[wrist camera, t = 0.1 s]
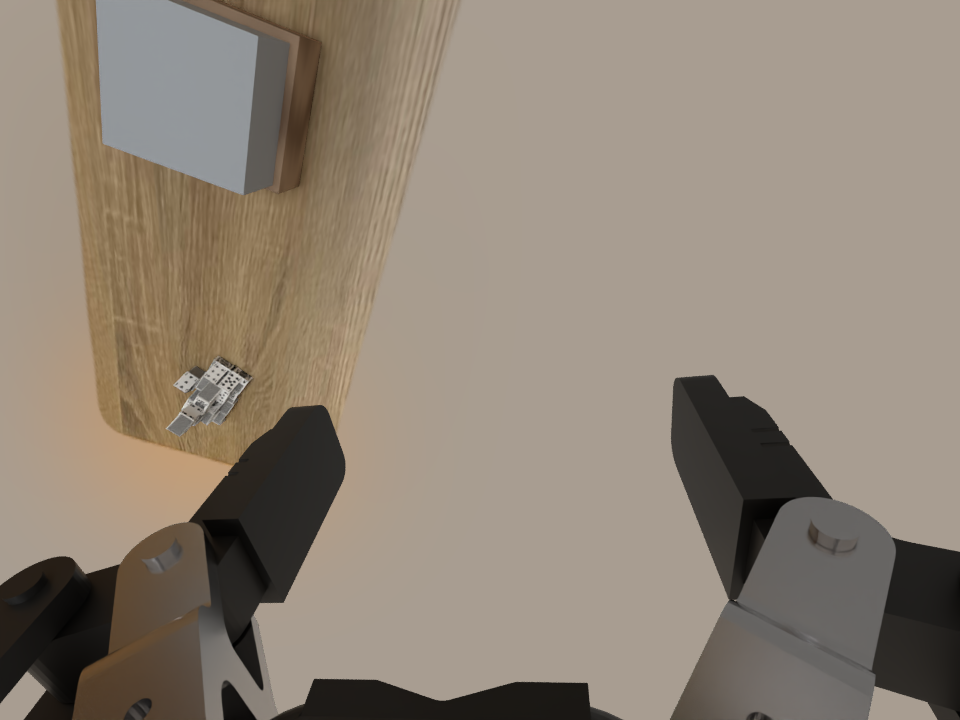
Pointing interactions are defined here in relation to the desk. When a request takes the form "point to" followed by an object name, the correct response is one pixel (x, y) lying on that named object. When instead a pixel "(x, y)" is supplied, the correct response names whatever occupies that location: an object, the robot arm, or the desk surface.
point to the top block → (191, 90)
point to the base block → (295, 91)
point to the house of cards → (209, 394)
